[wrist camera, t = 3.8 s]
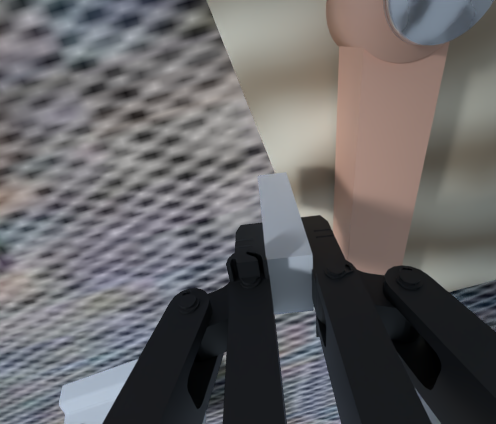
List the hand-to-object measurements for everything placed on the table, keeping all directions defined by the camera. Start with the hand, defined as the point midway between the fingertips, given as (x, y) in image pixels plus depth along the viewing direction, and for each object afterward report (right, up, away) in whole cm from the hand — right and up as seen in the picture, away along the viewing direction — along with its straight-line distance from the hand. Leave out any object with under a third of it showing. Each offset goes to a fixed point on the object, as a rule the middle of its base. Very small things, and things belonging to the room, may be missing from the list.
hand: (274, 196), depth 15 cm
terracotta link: (+5, +2, +2) cm, 6 cm away
